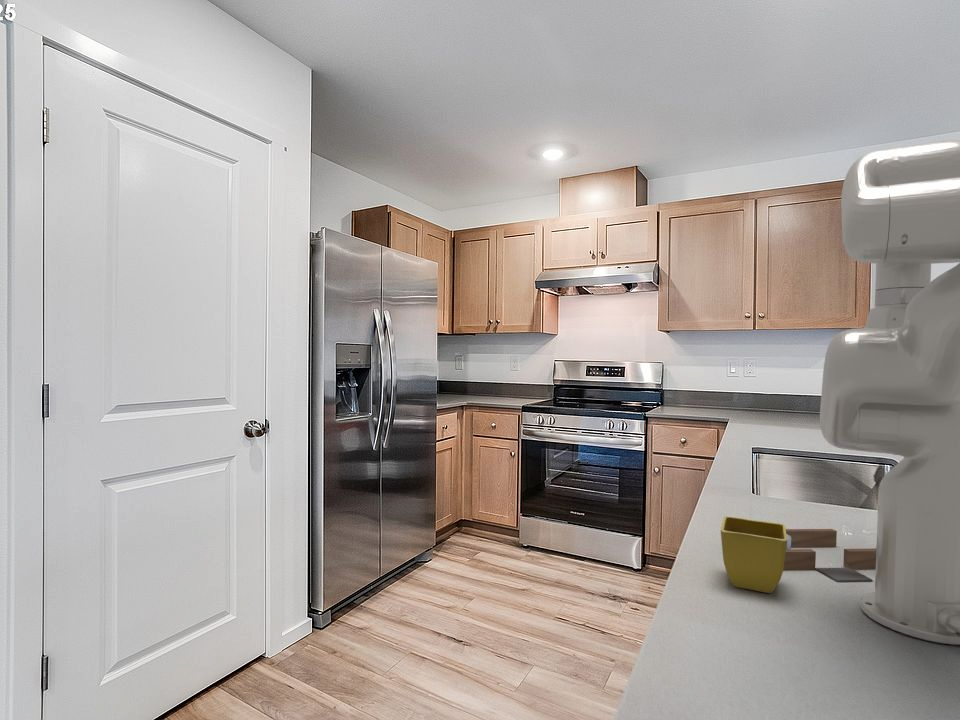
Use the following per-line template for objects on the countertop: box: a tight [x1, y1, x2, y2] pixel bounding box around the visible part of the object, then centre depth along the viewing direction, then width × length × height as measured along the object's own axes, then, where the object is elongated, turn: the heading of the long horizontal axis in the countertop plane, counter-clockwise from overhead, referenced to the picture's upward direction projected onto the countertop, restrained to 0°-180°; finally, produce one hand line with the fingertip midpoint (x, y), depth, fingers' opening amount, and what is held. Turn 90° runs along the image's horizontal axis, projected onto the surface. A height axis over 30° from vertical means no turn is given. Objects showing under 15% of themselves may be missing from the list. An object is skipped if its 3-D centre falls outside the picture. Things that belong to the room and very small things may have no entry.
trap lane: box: [783, 528, 876, 583], centre depth 95 cm, size 21×21×4 cm
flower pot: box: [720, 515, 787, 594], centre depth 83 cm, size 9×9×9 cm
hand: (897, 406), depth 93 cm, fingers closed
